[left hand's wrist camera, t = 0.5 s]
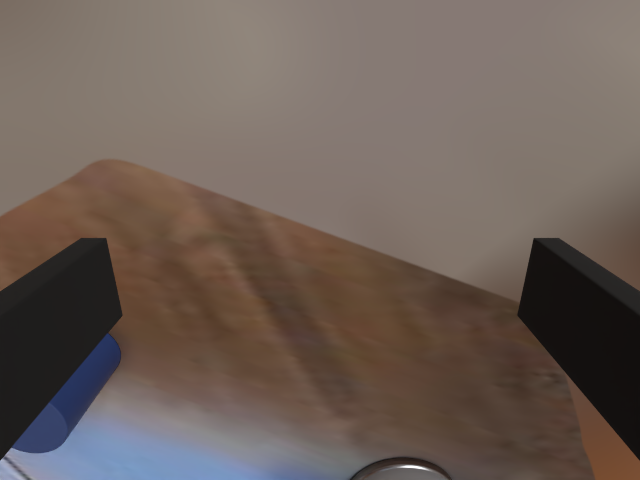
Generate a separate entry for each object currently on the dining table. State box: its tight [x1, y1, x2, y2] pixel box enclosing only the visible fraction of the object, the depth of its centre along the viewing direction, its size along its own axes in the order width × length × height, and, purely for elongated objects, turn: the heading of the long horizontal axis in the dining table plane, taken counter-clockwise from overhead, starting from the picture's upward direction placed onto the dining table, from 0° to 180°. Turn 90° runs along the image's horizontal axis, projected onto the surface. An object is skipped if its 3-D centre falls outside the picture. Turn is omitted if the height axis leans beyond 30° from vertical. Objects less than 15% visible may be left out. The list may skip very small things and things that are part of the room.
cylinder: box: [12, 333, 121, 453], centre depth 41 cm, size 7×7×11 cm
